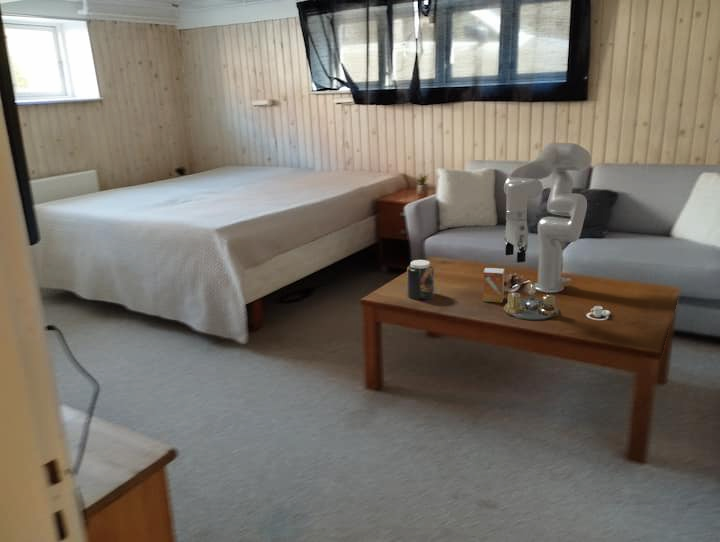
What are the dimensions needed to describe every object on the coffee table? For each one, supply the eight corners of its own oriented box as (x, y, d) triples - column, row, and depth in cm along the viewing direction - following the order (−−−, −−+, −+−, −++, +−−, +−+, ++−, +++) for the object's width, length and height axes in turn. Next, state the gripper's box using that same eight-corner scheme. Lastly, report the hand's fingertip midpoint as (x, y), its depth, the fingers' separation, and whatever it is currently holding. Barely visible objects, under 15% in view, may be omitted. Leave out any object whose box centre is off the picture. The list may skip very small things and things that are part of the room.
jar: (404, 299, 257) (403, 266, 252) (410, 290, 267) (409, 258, 263) (432, 300, 253) (431, 267, 249) (436, 291, 264) (436, 259, 259)
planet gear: (518, 305, 240) (518, 290, 238) (526, 312, 234) (527, 296, 231) (500, 307, 239) (501, 292, 237) (509, 314, 232) (509, 298, 230)
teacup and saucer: (609, 313, 232) (609, 303, 231) (612, 321, 225) (613, 311, 224) (585, 312, 234) (585, 303, 233) (587, 320, 227) (588, 310, 226)
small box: (482, 301, 250) (483, 272, 246) (484, 296, 255) (484, 267, 251) (502, 303, 247) (503, 273, 243) (503, 297, 253) (504, 268, 249)
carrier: (542, 299, 249) (542, 280, 247) (567, 316, 230) (569, 296, 228) (497, 304, 245) (497, 286, 243) (519, 323, 227) (520, 303, 224)
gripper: (536, 218, 218) (535, 263, 223) (515, 209, 234) (513, 251, 239) (517, 221, 216) (516, 266, 222) (497, 211, 232) (496, 253, 238)
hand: (515, 258), depth 230 cm, fingers open, 9 cm apart
